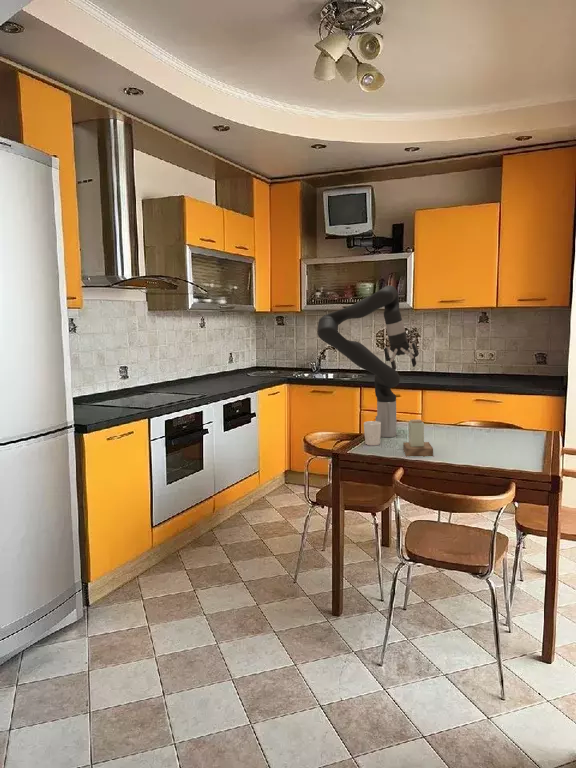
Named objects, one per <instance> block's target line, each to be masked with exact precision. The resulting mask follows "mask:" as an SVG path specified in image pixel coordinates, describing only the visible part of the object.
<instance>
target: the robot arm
mask: <svg viewBox="0 0 576 768" xmlns="http://www.w3.org/2000/svg"><path fill="white" fill-rule="evenodd" d="M398 293H399V292H398V290H397V288H396V287H395V286H393V285H389V284H388V285H385V286H383V287H382V288H381V289H379V290H377V291H376V292H374V293H373V294H371V295H368V296H366V297H364V298H362V299H361V300H359V301H357V302H355V303H354V304H350V305H349V306H347V307H344V308H341V309H338V310H335V311H332V312H330V313H326V314H325V315H322V316H321V317H320V319H318V323H317V336H318V338H319V339H320V340H321V341H322V342H325V343H326V344H327V345H328V346H330V347H332V348H333V349H335V350H337V351H338V352H339V353H341V354H342V355H343V356H345V358H347V359H348V360H349V361H350V362H352V363H354V365H356V366H357V367H359V368H361V369H362V370H364V371H367V372H369V373H371V374H373V375H374V392H375V397H376V401H377V402H376V416H375V421H378V422H381V435H380V438H382V437H383V438H392V437H393V438H394V437H396V436H397V395H396V394H395V393H394V391H392V389H391V388H395V387H397V386H398V385H399V384H400V382H401V381H400V380H401V379H400V375H399V372H398V371H397V364H396V360H395V358H396V356H397V357H398V356H399V357H400V356H404V355H406V356H408V357H409V358H411V360H410V361H411V364H412V368H415V367H416V365H417V360H416V357H418V356H419V353H420V352H419V349H418V346H417V343H416V341H413V342H412V343H409V342H408V338H407V333H406V328H405V325H404V322H403V319H402V313H401V311H400V299H399V294H398ZM382 308H384V310H383V318H384V322H385V327H386V328H385V329H386V333H387V337H388V341H389V345H390V346H389V347H388V346H385V347H384V348H383V353H384V359H385V361H386V362H389V363H390V365H391V366H390V365H388V364H387V363H385V362H384V361H382V360H381V359H380V358H379V357H378V356H376V355H375V353H373V352H372V351H371V350H370V349H368V347H366V346H365V345H364V344H362V343H361V342H358V341H355V340H349V339H347V338H345V337H344V336H343V335H342V334H341V333H340V332H339V325H340V324H342V323H343V322H345V321H347V320H353V319H362V318H365V317H366V316H368V315H370V314H372V313H374V312H375V311H377V310H379V309H382ZM410 348H411V349H412V350H413V352H412V351H411V349H410ZM390 351H391V352H392V355H391V357H390Z"/></svg>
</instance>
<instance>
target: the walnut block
mask: <svg viewBox="0 0 576 768" xmlns="http://www.w3.org/2000/svg"><path fill="white" fill-rule="evenodd" d="M402 446H403V450H404V451H403V450H402V451H403V453H404V452H405V453H404V454H405V456H406V457H407V456H423V457H425V456H433V457H434V447H433V446H432V445H431V443H430V441H424V446H419V447H411V446H410V445H409V441H408V442H407V441H406V442H405V441H404V442H403V445H402ZM423 457H422V458H423Z"/></svg>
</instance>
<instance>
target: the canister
mask: <svg viewBox="0 0 576 768" xmlns="http://www.w3.org/2000/svg"><path fill="white" fill-rule="evenodd" d="M408 442H409V445H410V446H411V447H419V446H424V442H425V423H424V422H423V421H422V419H409V420H408Z"/></svg>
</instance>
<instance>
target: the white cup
mask: <svg viewBox="0 0 576 768" xmlns="http://www.w3.org/2000/svg"><path fill="white" fill-rule="evenodd" d="M363 431H364V432H363V433H364V444H365V445H366V444H367V446H378V445H380V444H381V437H380V435H381V422H378V421H376V420H368V421H364V422H363Z"/></svg>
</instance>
